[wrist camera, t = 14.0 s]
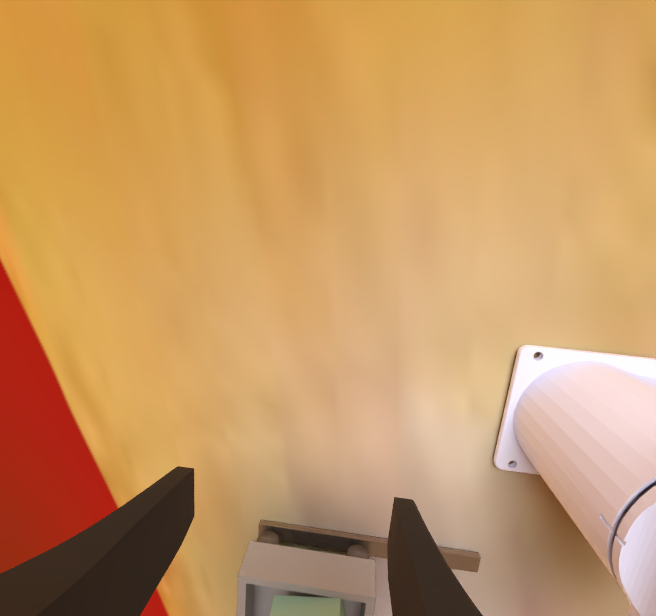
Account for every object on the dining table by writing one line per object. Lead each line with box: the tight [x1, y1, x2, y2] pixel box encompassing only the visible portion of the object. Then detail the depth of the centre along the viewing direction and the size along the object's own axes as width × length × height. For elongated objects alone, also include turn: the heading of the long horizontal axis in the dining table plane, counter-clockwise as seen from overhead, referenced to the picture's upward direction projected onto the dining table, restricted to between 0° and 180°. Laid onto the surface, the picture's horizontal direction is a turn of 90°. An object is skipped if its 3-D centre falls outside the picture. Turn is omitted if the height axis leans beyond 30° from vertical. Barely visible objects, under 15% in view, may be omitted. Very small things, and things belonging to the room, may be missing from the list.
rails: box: [259, 520, 480, 572], centre depth 25 cm, size 15×10×1 cm
